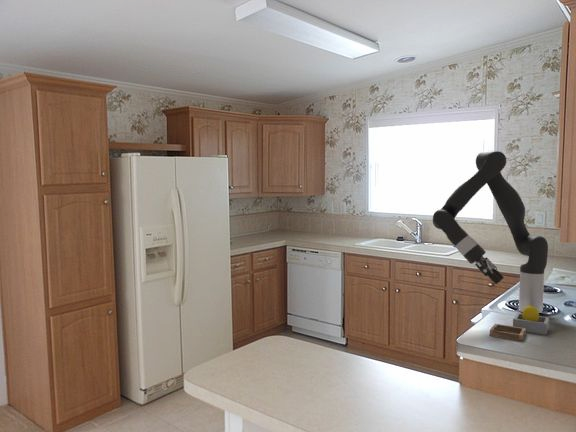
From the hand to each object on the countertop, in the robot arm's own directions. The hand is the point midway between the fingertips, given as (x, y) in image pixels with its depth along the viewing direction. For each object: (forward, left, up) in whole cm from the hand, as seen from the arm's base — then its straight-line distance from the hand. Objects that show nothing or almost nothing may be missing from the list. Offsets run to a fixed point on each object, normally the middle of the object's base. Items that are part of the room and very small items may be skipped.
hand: (500, 281), depth 178 cm
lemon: (0, +11, -16) cm, 19 cm away
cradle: (+14, +5, -17) cm, 22 cm away
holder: (0, +11, -17) cm, 20 cm away
